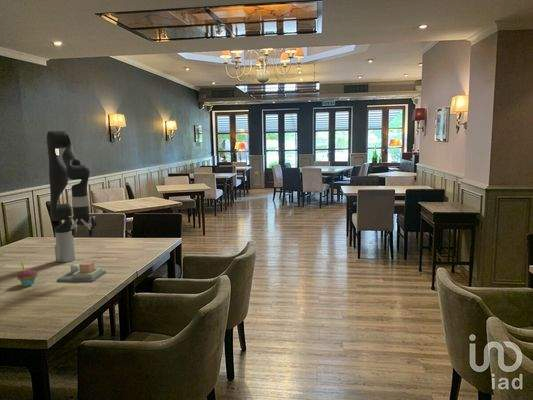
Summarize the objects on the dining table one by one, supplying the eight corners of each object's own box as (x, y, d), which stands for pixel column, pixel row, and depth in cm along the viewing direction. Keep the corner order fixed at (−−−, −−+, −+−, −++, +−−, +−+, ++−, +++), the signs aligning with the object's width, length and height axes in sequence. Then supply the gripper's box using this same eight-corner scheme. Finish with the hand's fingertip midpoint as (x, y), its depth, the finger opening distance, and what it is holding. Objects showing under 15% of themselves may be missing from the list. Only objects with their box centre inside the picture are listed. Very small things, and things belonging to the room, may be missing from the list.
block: (80, 276, 199) (79, 264, 198) (85, 273, 204) (84, 261, 203) (89, 276, 198) (88, 264, 198) (94, 273, 203) (94, 261, 203)
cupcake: (23, 288, 186) (20, 263, 185) (14, 285, 191) (11, 261, 189) (42, 283, 193) (39, 259, 192) (32, 280, 198) (30, 256, 196)
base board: (57, 281, 195) (56, 271, 195) (72, 272, 209) (71, 263, 208) (92, 281, 194) (91, 271, 193) (106, 272, 208) (105, 263, 207)
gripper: (62, 206, 198) (65, 238, 200) (90, 206, 197) (92, 238, 199) (70, 203, 205) (73, 234, 207) (97, 204, 204) (99, 234, 206)
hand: (82, 236), depth 203 cm, fingers open, 8 cm apart
